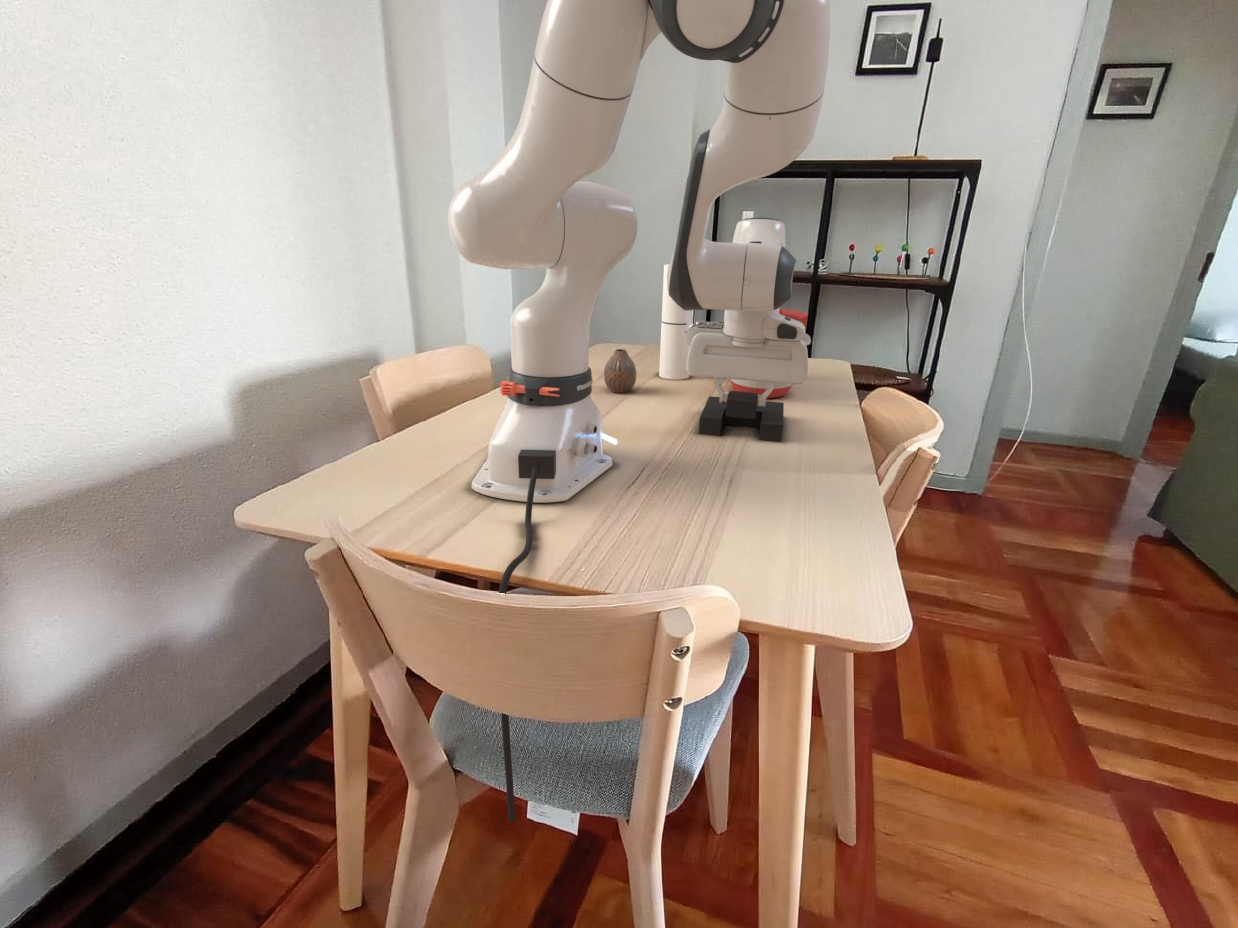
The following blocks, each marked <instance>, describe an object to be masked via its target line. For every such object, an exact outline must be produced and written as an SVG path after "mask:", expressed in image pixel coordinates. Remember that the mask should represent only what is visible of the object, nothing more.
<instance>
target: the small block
mask: <svg viewBox="0 0 1238 928" xmlns="http://www.w3.org/2000/svg"><path fill="white" fill-rule="evenodd" d="M728 392H729V396H728V398H727V406H726V416H727V417H738V418H749V419H755V417H756V409H757V397H758V393H752V392H740V391H734V390H729V391H728Z"/></svg>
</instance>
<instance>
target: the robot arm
mask: <svg viewBox="0 0 1238 928" xmlns="http://www.w3.org/2000/svg"><path fill="white" fill-rule="evenodd" d="M830 11H831V10H830V0H547V1H546V3H545V8H544V11H543V14H542V18H541V22H540V25H539V31H538V34H537V39H536V44H535V49H534V55H533V59H532V66H531V69H530V70H531V71H530V76H529V80H528V85H527V90H526V94H525V98H524V103H523V107H522V111H521V115H520V119H519V121H518V124H517V126H516V129H515V131H514V133H513V134H512V137H511V138H510V140H509V142H508V143H507V145H505V148H503V150H502V151H501V153H500V154H499V155H498V156H497V158H495V160H494V161H493V162H492V163H491V164H490V165H488V167H486V168H485V169H484V170H483V171H482V172H480V173H479V174H477V175H476V176H474V177H473V178H470V179H469V180H467V181H465V182H463V183H462V184H461V185H460V186H459V187H458V188H457V189H456V190H455V193H454V194H453V196H452V197H451V201H450V204H449V207H448V213H447V226H448V230H449V235H450V238H451V241H452V243H453V245H454V247H455V249H456V250H457V251H458V253H459V255H461V256H462V258H464V259H465V260H466V261H467V262H468V263H470V264H473V265H478V266H483V267H489V268H495V269H500V270H527V269H528V270H533V269H534V270H535V269H546V271H545V277H544V280H543V282H542V284H541V286H540V287H539V289H538V290H537V291H536V292H535V293H534V294H532V295H530V296H529V297H527V298H526V299H524V300H522V301H521V302H520V303H519V304H518V305H517V306H516V307H515V309H513V312H512V314H511V316H510V320H509V335H510V336H509V337H510V354H511V355H510V356H511V367H510V369H509V370H508V377H507V380H502V381H501V382H500V386H499V391H500V395H501V396H505V397H507V401H506V402H505V406H504V408H503V410H502V412H501V413H500V416H499V418H498V421H497V423H496V425H495V428H494V430H493V432H492V434H491V436H490V439H489V442H488V447H487V459H486V460H485V461H484V463H483V465H482V466H481V467H480V469H479V471H478V472H477V473H476V475H475V476H474V477H473V479H472V481H471V489H472V490H473V491H475V492H476V493H478V494H481V495H484V496H486V497H492V498H496V499H502V500H507V501H514V502H515V501H516V502H523V503H526V504H525V505H526V506H525V516H524V528H525V544H524V548H523V549H522V551H521V553H520V554H518V556H516V557H514V559H513V560H512V561H511V562H509V564H508V565H507V567H506V568H505V570H504V572H503V575H502V577H501V579H500V584H499V587H498V593H505V595H506V594H507V592H508V586H509V583H510V579H511V577H512V575H513V573H514V571H515V570H516V568H517V567H518V566H519V565H520V564H521V563H523V562H524V561H525V560H526V559H527V558H528V556H529V555H530V553H531V551H532V546H533V542H534V541H533V540H534V538H533V537H534V536H533V535H534V533H533V526H532V517H533V504H534V503H541V504H542V503H559V502H564V501H568V500H569V499H571V498H572V497H573V496H575V495H576V494H577V493H579V492H580V491H581V490H582V489H583V488H585V487H586V486H588V485H589V484H591V483H592V482H593V481H594V480H596V479H597V478H599V476H602V474H603V473H605V472H606V471H608V470H609V469H610V468H611V467H612V466H613V458H612V457H611V456H609V455H608V454H606V453H604V447H603V446H604V443H603V440H605V441H607V442H608V443H611V444H613V445H617V444H618V440H617V439H616V438H614V437H612V436H609V435H607V434H605V433H603V425H602V424H603V423H602V411H601V409H599V407H598V406H597V404H595V402H594V400H593V399H592V396H591V394H592V392H593V376H592V375H593V374H592V368H591V367H590V365H589V359H590V357H589V356H590V355H589V354H590V333H591V321H592V314H593V309H594V305H595V304H596V303H595V302H596V299H597V298H598V297H597V296H598V295H599V292H600V290H601V289H602V287H603V284H604V283H605V281H606V279H607V277H608V276H609V275H610V273H611V272H612V271H613V270H614V269H615V268H616V266H618V265H619V264H620V263H621V262H622V261H623V260H625V259H626V257H627V256H628V255H629V253H630V252H631V250H632V249H633V247H634V245H635V241H636V238H637V234H638V217H637V212H636V209H635V207H634V204H633V202H632V200H631V199H630V197H629V195H628V194H627V193H626V192H625V191H623V190H621V189H619V188H615V187H612V186H609V185H605V184H601V183H598V182H594V181H581V180H582V179H585V178H586V177H588V176H590V175H592V174H593V173H596V172H598V170H600V169H601V168H602V167H604V166H605V165H606V164H607V163H608V161H609V160H610V158H612V155H613V154H614V152H615V151H616V150H615V149H616V146H617V143H618V139H619V136H620V133H621V129H622V126H623V123H624V120H625V117H626V113H627V110H628V107H629V104H630V101H631V97H632V95H633V91H634V87H635V83H636V80H637V76H638V73H639V70H640V66H641V61H642V60H643V59H644V57H645V54H646V53H647V50H648V49H649V48H650V46H651V44H652V42H653V41H654V40H656V38H657V37H658V36H659V35H660V34H661V33H662V35H663V37H664V38H665V39H666V40H667V41H668V43H669V44H670V45H671V46H673V48H675V49H676V50H677V51H678V52H680V53H682V54H683V55H685V56H687V57H690V58H693V59H697V60H702V61H723V62H724V65H725V67H724V81H723V95H722V97H723V98H722V105H721V108H720V112H719V114H718V117H717V119H716V121H715V122H714V124H713V125H712V126H711V128H709V129H707V130H705V131H704V132H702V133H701V134H699V137H698V139H697V141H696V143H695V146H694V149H693V152H692V155H691V160H690V165H689V169H688V175H687V178H686V182H685V183H686V184H685V189H684V194H683V200H682V201H683V202H682V207H681V213H680V219H679V223H678V230H677V231H678V232H677V236H676V242H675V246H674V249H673V252H672V255H671V258H670V260H669V263H668V264H669V267H668V273H667V287H668V291H669V296H670V297H671V298H672V299H673V301H674V302H675V303H676V304H677V305H679V306H680V307H681V308H682V309H683V310H685V311H688V310H694V311H706V310H716V311H717V310H718V311H724V315H723V321H705V320H697V321H696V322H693V324H692V325H691V326H690V327H689V328H688V331H687V343H688V344H689V346H690V348H689V352H688V357H687V364H686V371H687V372H688V374H689V377H690V376H691V377H700V378H701V377H702V378H703V377H704V378H714V386H715V388H716V390H717V392H718V394H719V397H720V400H719V403H726V404H727V398H728V396H729V392H730V391H727V390H726V391H725V389H724V387H723V383H724V381H725V379H726V380H727V379H728V380H730V379H738V380H751V381H763V382H766V388H767V389H766V390H765V392H764V393H763V395H761V394H758V397H757V406H759V407H765V403H766V401H767V399H766V398H767V397H768V396H769V394H770V393H771V392H772V390H773V389H774V383H775V382H776V383H789V384H792V385H803V384H804V383H805V382H806V381H807V380H808V374H809V355H808V354H809V352H808V347H807V346H808V345H806V343H805V341H804V340H803V338H804V335H805V333H806V331H805V326H804V325H803V323H801V322H800V321H797V320H794V319H792V318H789V317H786V316H784V315H781V314H779V312H780V308H781V307H782V306H783V305H785V304H786V303H787V302H788V301H789V300H791V298H792V297H793V291H792V286H793V277H794V270H795V266H796V262H797V259H796V258H795V257H794V256H793V254H791V252H790V251H789V250H788V249H787V247H786V246H787V244H786V243H787V242H786V240H787V238H786V235H787V234H786V225H785V223H784V222H783V221H781V220H779V219H776V218H773V217H763V216H761V217H759V216H758V217H750V218H743V219H741V220H739V221H738V222H737V223H736V226H735V229H734V233H733V237H732V241H731V242H722V241H712V240H709V239H707V238H706V235H707V229H708V224H709V221H710V215H711V211H712V207H713V204H714V202H715V201H716V199H717V198H719V197H720V196H721V195H723V194H724V193H726V192H727V191H729V190H731V189H734V188H736V187H738V186H740V185H742V184H746V183H748V182H751V181H754V180H758V179H761V178H765V177H767V176H768V177H769V176H770V175H773V174H775V173H777V172H780V170H782V169H784V168H785V167H787V166H789V165H790V164H792V162H794V161H795V160H796V159H797V158H798V157H800V155H802V154H803V152H804V151H805V150H806V149H807V148H808V146H809V145H810V143H811V142H812V140H813V138H814V135H815V131H816V129H817V125H818V122H819V118H820V114H821V109H822V104H823V101H824V96H825V95H824V94H825V88H826V81H827V73H828V66H829V65H828V64H829V56H830V55H829V54H830V37H831V36H830V35H831V34H830V32H831V31H830V30H831V29H830V28H831V27H830V26H831V13H830ZM500 715H501V716H500V718H501V731H502V732H501V733H502V746H503V747H502V749H503V760H504V772H505V787H506V801H507V815H508V816H507V818H508V823H514V822H515V821H516V808H515V807H516V806H515V792H514V791H515V790H514V775H513V761H512V748H511V747H512V746H511V731H510V716H509V715H510V714H509V715H506V714H503V713H501V712H500Z"/></svg>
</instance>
